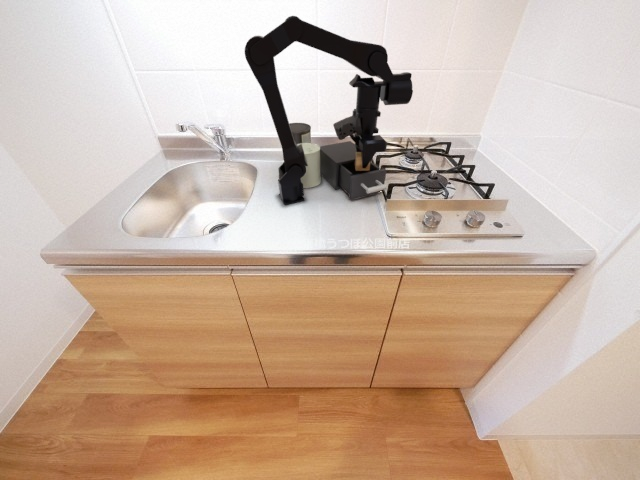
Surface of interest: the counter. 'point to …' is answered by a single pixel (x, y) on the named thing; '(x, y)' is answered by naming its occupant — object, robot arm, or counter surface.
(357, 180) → the dark grey drawer
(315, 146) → the can
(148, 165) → the counter surface
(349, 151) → the dark grey drawer box
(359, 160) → the block
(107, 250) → the counter surface
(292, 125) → the coffee can
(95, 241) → the counter surface
